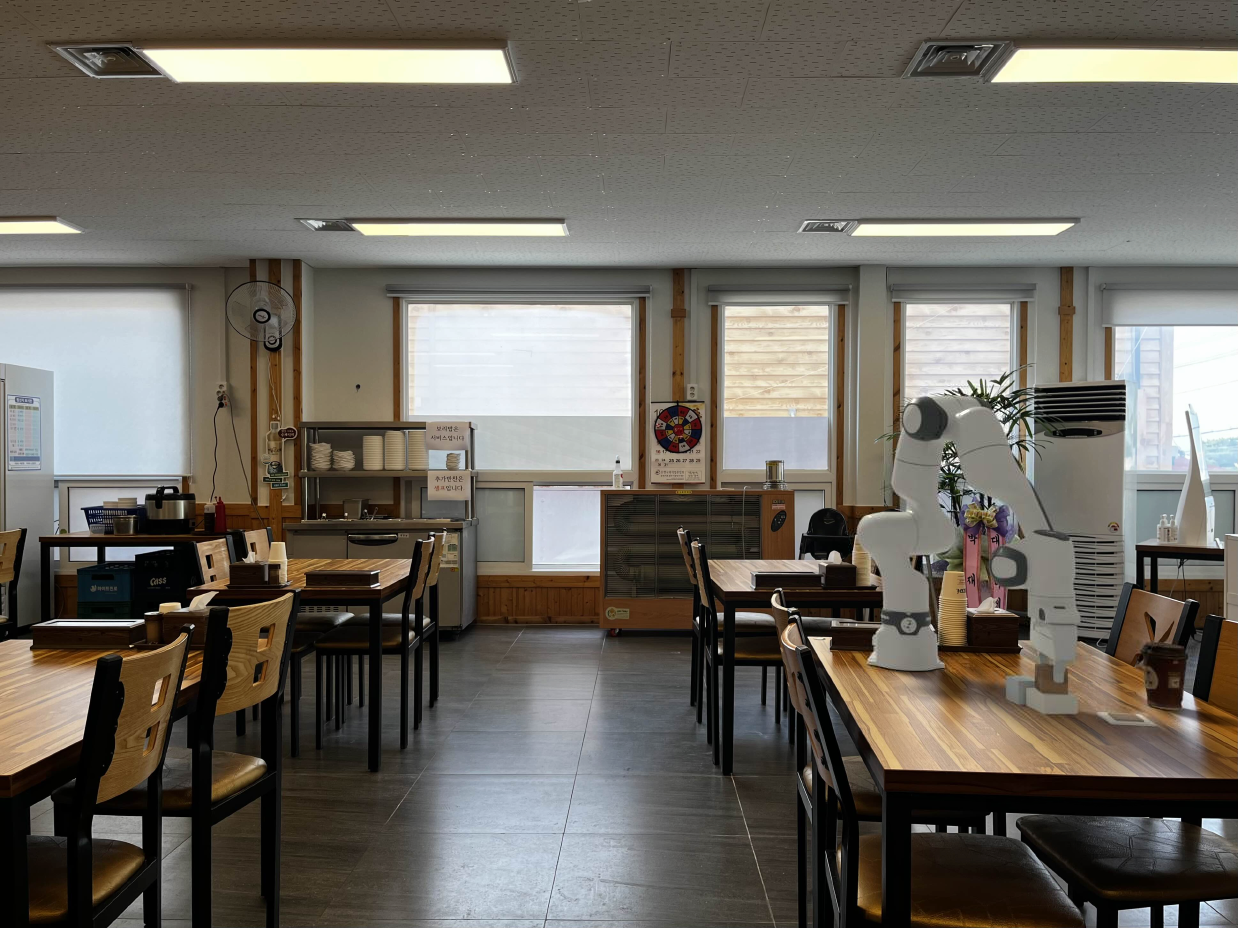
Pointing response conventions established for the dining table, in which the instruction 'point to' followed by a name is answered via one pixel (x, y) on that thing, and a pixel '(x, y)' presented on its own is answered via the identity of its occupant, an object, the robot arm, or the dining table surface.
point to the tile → (1126, 719)
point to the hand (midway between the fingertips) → (1051, 676)
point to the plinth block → (1052, 702)
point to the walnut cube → (1049, 680)
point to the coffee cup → (1164, 674)
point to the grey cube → (1018, 688)
